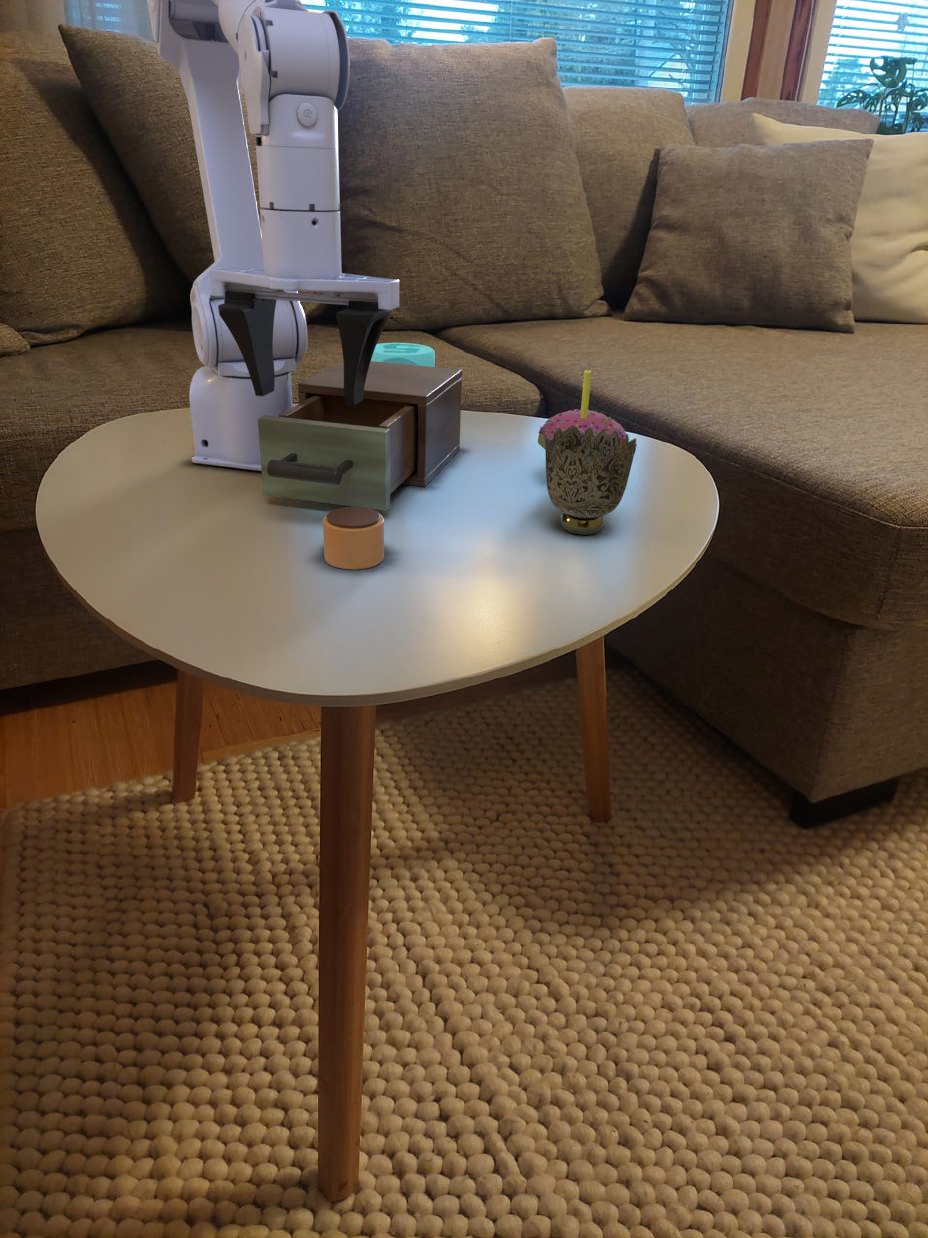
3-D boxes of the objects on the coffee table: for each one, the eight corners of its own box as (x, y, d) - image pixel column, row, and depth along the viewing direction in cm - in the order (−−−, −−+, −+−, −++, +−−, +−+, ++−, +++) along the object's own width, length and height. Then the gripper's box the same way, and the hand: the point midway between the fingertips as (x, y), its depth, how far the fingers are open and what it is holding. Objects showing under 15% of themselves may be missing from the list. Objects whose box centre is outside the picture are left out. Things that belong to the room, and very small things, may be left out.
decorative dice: (363, 424, 101) (362, 354, 98) (369, 407, 108) (368, 341, 105) (432, 427, 102) (433, 356, 98) (434, 409, 109) (435, 343, 105)
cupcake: (619, 502, 81) (636, 370, 75) (529, 493, 82) (538, 363, 77) (623, 474, 88) (638, 352, 83) (540, 466, 90) (549, 346, 84)
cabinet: (425, 487, 83) (426, 396, 79) (302, 472, 85) (297, 383, 82) (459, 450, 94) (462, 369, 90) (349, 438, 96) (347, 358, 92)
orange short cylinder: (314, 565, 66) (312, 522, 65) (338, 542, 70) (336, 502, 69) (372, 573, 65) (371, 530, 64) (392, 550, 69) (392, 509, 68)
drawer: (368, 528, 71) (367, 446, 68) (240, 511, 73) (233, 430, 70) (425, 471, 84) (426, 400, 81) (315, 458, 87) (312, 389, 83)
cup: (602, 553, 70) (614, 456, 66) (522, 532, 73) (529, 439, 70) (638, 526, 76) (650, 435, 72) (561, 507, 79) (570, 420, 75)
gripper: (180, 206, 61) (200, 400, 68) (375, 216, 58) (378, 419, 64) (229, 203, 67) (243, 381, 74) (408, 212, 64) (407, 397, 71)
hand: (308, 397), depth 69 cm, fingers open, 7 cm apart
